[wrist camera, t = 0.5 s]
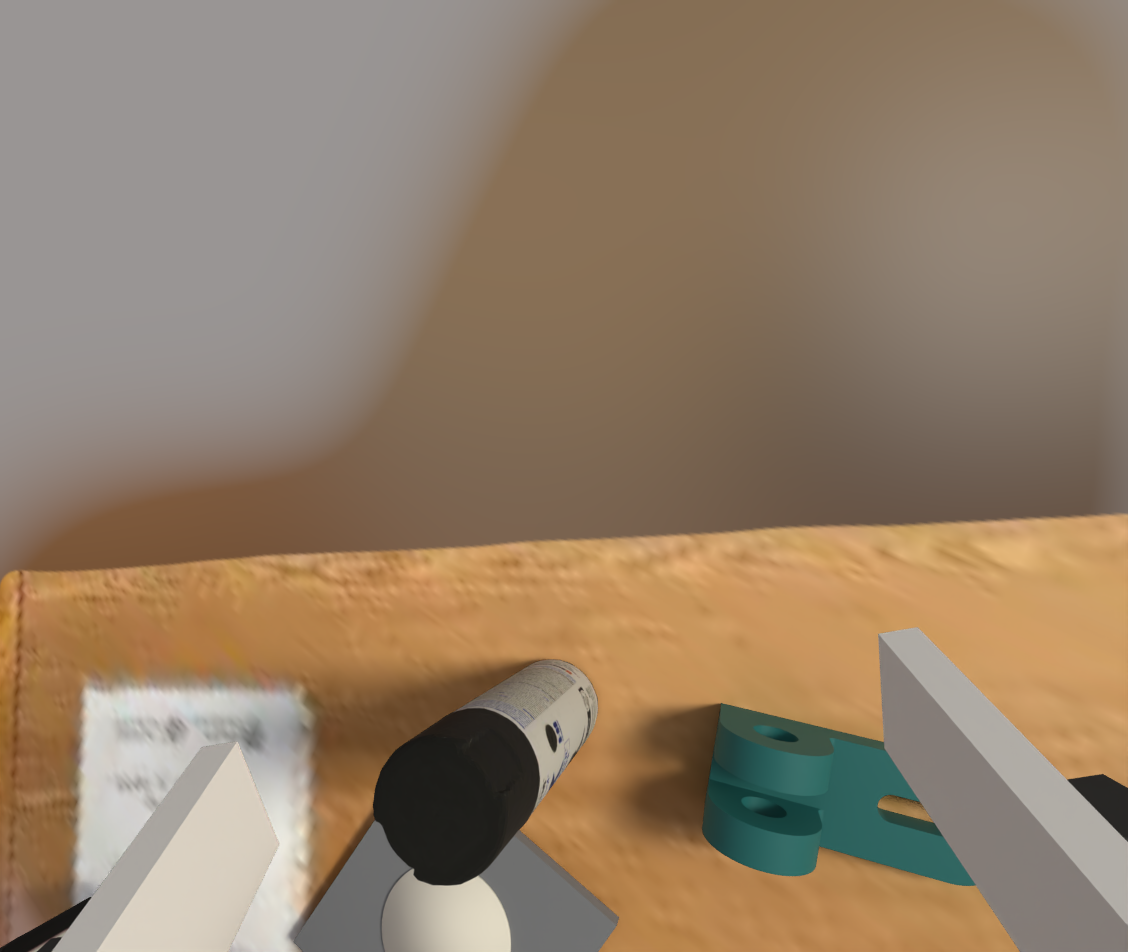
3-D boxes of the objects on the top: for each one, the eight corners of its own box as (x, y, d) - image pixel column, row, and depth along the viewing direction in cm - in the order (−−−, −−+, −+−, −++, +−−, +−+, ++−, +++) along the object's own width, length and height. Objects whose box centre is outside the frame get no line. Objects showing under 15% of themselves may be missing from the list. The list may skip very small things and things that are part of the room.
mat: (619, 917, 47) (616, 927, 46) (477, 1115, 48) (471, 1130, 47) (426, 748, 51) (418, 753, 50) (301, 934, 52) (291, 943, 51)
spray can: (550, 770, 49) (431, 925, 29) (492, 695, 50) (342, 795, 31) (618, 711, 48) (540, 831, 29) (556, 637, 49) (444, 703, 30)
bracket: (705, 800, 46) (699, 852, 39) (721, 702, 46) (718, 735, 39) (997, 881, 42) (1056, 959, 34) (1013, 772, 42) (1075, 825, 34)
